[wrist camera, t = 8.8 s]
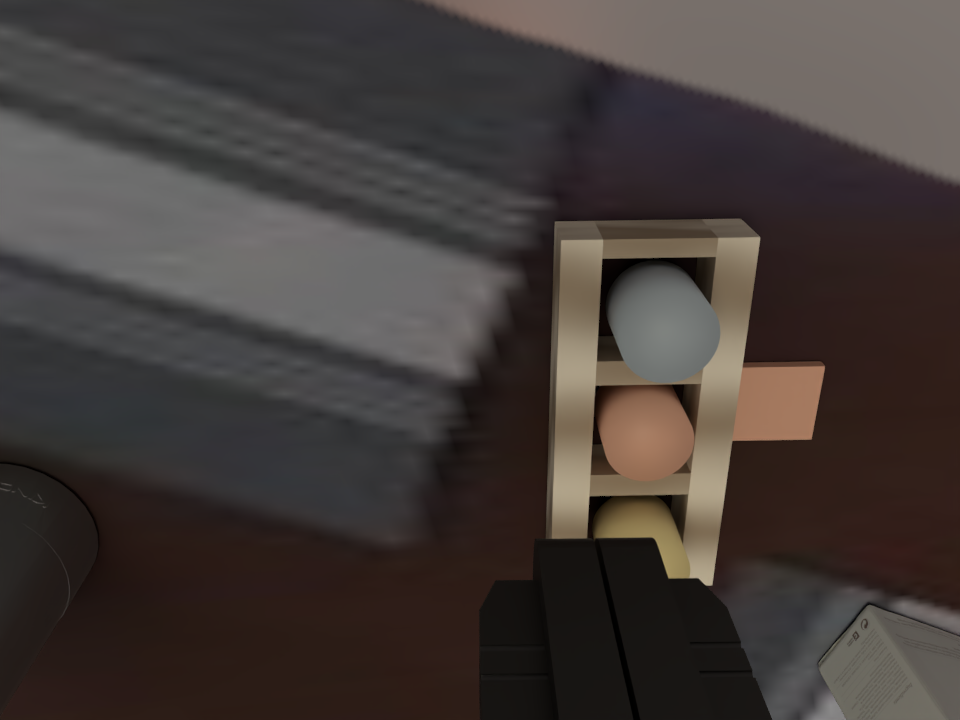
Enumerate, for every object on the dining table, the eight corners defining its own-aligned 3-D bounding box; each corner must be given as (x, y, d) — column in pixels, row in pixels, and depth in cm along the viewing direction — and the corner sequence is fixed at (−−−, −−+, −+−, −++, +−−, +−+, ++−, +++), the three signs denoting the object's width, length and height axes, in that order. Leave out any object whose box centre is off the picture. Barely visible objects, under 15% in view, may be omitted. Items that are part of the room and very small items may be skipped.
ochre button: (668, 556, 47) (685, 606, 43) (589, 558, 47) (600, 608, 43) (676, 490, 45) (694, 537, 41) (593, 492, 45) (605, 539, 41)
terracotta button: (671, 439, 45) (689, 480, 42) (591, 440, 45) (602, 481, 42) (679, 366, 44) (698, 403, 40) (595, 367, 44) (606, 404, 40)
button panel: (698, 550, 49) (712, 585, 46) (545, 553, 49) (550, 588, 46) (740, 218, 40) (760, 237, 38) (554, 221, 40) (561, 240, 38)
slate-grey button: (692, 345, 41) (714, 382, 37) (602, 346, 41) (616, 383, 37) (701, 259, 39) (726, 289, 35) (608, 260, 39) (622, 291, 35)
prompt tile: (807, 433, 46) (811, 439, 45) (727, 435, 46) (730, 440, 45) (820, 361, 44) (825, 366, 43) (736, 362, 44) (740, 367, 43)
